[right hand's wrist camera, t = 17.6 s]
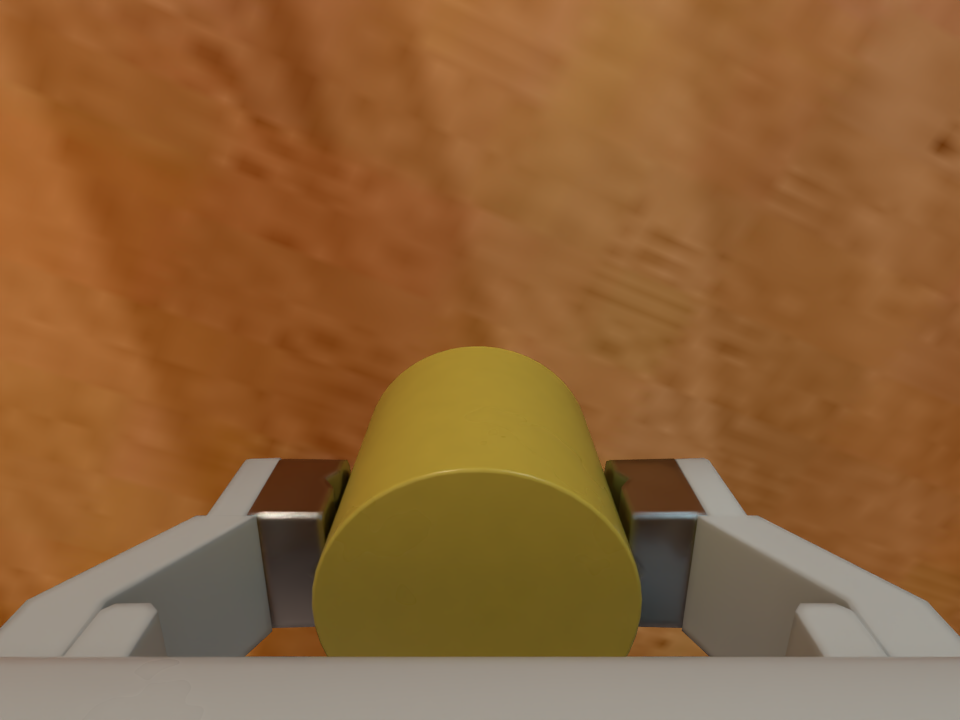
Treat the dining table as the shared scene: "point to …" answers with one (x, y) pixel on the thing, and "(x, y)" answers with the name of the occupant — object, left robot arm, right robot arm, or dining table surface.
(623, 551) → the can
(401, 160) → the dining table surface
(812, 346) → the dining table surface
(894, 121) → the dining table surface
